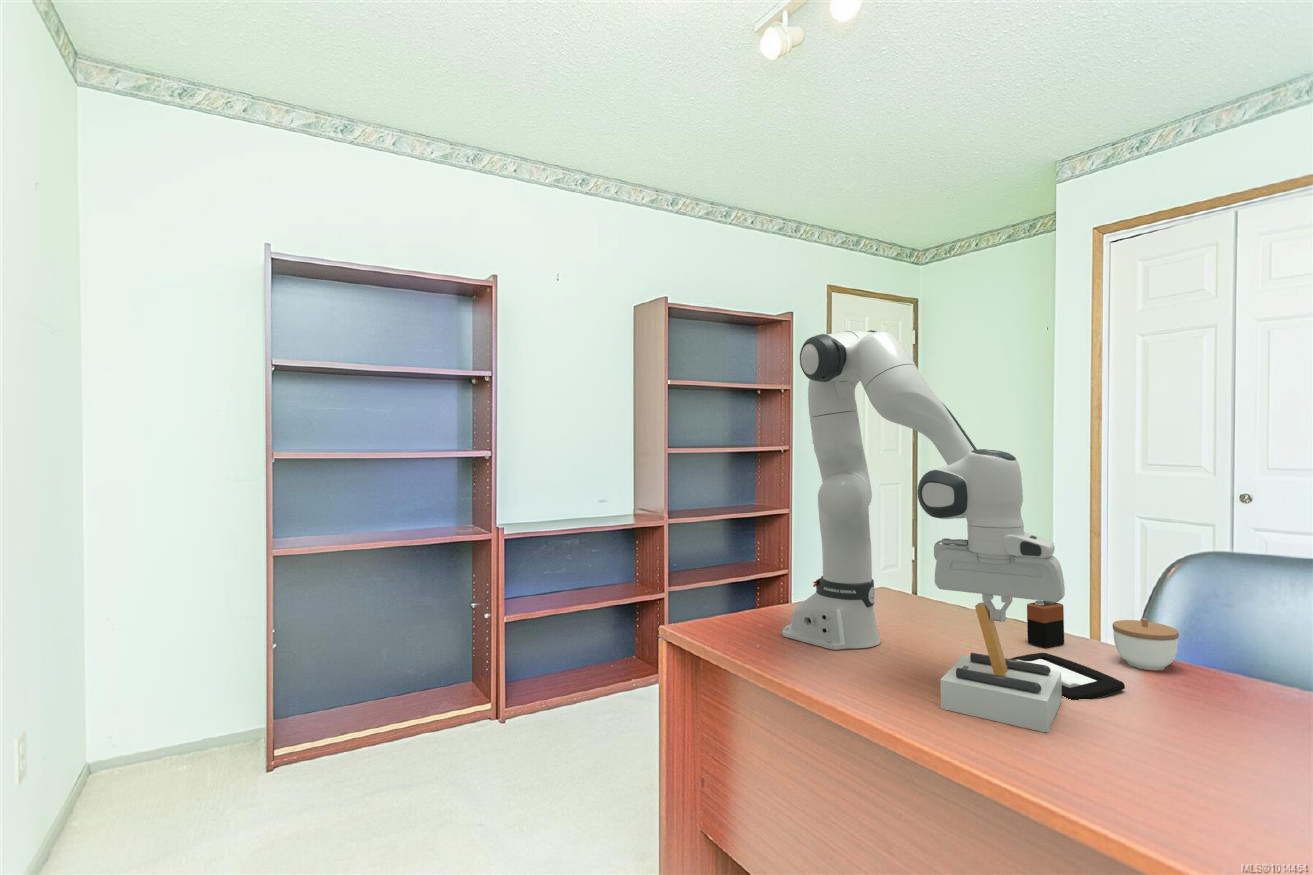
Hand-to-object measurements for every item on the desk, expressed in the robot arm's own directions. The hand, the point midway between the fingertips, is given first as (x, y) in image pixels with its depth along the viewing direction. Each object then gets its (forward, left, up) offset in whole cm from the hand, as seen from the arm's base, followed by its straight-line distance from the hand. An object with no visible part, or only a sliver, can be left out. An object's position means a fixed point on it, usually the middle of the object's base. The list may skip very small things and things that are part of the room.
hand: (997, 620), depth 114 cm
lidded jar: (+19, +38, -15) cm, 45 cm away
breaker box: (0, 0, -15) cm, 15 cm away
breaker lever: (0, 0, -9) cm, 9 cm away
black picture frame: (+6, +19, -15) cm, 25 cm away
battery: (+1, +42, -15) cm, 44 cm away
